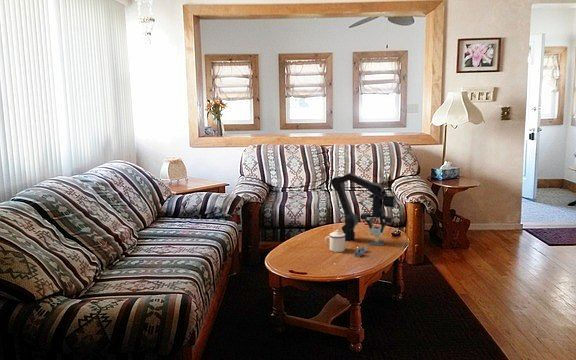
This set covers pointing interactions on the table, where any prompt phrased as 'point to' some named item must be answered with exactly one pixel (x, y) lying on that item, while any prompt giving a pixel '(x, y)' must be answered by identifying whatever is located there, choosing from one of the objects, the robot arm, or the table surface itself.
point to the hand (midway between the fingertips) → (376, 231)
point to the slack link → (363, 249)
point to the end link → (375, 230)
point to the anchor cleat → (358, 252)
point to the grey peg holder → (377, 241)
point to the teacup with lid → (336, 241)
